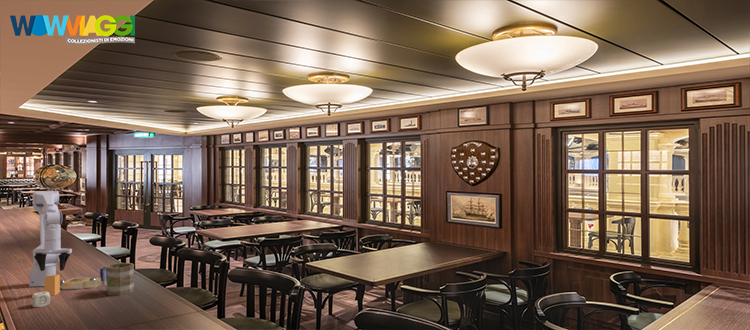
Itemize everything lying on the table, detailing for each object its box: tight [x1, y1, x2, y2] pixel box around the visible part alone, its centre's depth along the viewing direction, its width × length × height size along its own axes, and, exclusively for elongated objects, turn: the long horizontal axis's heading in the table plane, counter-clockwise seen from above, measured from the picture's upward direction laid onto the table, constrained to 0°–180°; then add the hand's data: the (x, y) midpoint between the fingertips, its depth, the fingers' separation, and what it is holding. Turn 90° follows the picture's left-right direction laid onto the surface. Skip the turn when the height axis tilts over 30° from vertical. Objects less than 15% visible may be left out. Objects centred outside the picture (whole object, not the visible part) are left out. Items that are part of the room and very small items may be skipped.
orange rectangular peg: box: [44, 274, 61, 296], centre depth 193 cm, size 4×4×8 cm
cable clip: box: [99, 267, 107, 282], centre depth 220 cm, size 12×4×6 cm, turn 170°
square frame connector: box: [60, 276, 102, 290], centre depth 204 cm, size 18×8×4 cm, turn 100°
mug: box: [102, 262, 135, 297], centre depth 197 cm, size 16×11×12 cm
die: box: [31, 291, 51, 308], centre depth 178 cm, size 5×5×5 cm
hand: (52, 270), depth 193 cm, fingers open, 7 cm apart
